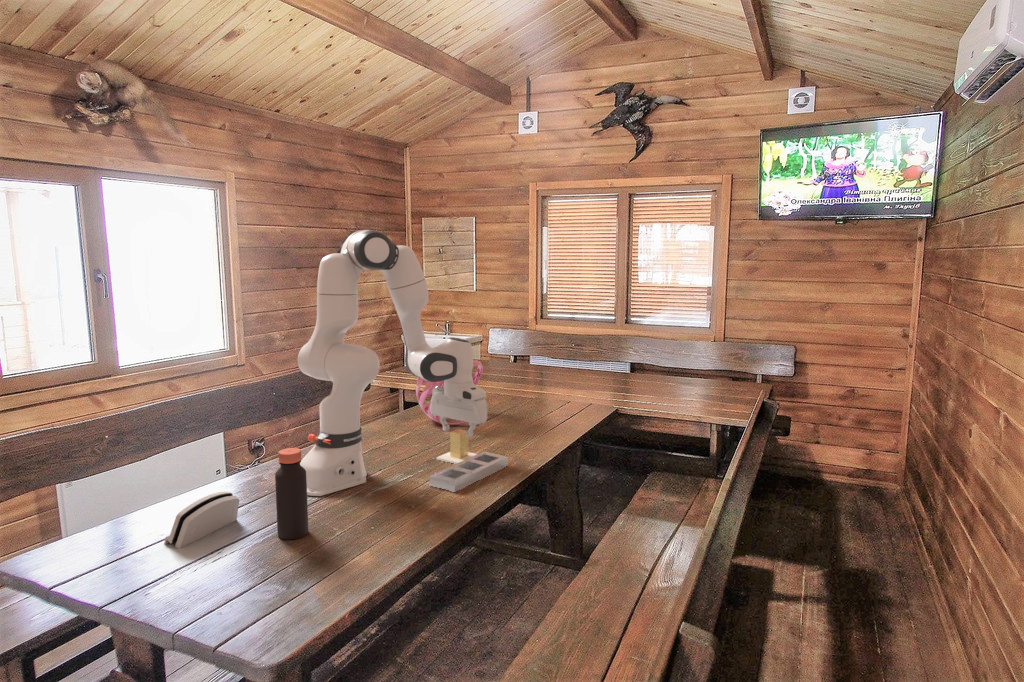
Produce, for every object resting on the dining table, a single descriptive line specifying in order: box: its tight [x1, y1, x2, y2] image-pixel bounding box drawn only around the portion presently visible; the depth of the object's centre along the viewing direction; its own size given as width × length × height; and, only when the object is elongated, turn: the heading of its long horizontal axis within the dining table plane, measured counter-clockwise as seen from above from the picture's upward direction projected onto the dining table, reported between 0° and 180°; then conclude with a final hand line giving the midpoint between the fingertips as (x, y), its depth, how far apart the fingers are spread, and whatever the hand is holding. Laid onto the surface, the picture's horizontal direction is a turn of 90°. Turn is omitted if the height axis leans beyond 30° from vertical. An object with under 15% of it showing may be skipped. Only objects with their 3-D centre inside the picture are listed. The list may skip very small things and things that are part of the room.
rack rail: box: [429, 451, 509, 493], centre depth 189 cm, size 26×9×3 cm, turn 147°
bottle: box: [274, 447, 309, 541], centre depth 149 cm, size 7×7×20 cm
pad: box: [435, 451, 478, 465], centre depth 204 cm, size 10×10×1 cm
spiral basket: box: [415, 359, 484, 426], centre depth 245 cm, size 28×28×27 cm
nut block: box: [449, 428, 469, 459], centre depth 204 cm, size 4×4×8 cm
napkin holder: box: [163, 491, 240, 549], centre depth 150 cm, size 17×5×10 cm, turn 157°
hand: (457, 433), depth 202 cm, fingers open, 8 cm apart
